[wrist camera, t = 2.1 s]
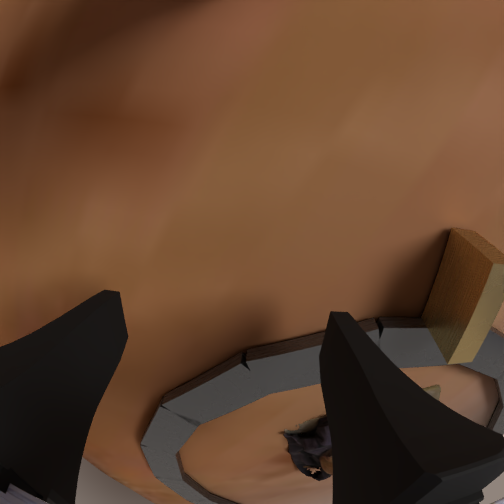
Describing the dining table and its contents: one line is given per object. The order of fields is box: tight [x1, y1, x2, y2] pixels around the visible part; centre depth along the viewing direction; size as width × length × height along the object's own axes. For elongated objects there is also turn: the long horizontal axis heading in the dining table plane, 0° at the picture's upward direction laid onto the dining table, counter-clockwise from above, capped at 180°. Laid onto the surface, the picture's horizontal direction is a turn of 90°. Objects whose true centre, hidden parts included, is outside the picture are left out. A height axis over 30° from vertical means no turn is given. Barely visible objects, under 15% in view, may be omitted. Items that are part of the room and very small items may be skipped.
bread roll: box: [283, 385, 441, 481], centre depth 17 cm, size 11×8×4 cm
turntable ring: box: [140, 228, 504, 504], centre depth 17 cm, size 31×36×3 cm
